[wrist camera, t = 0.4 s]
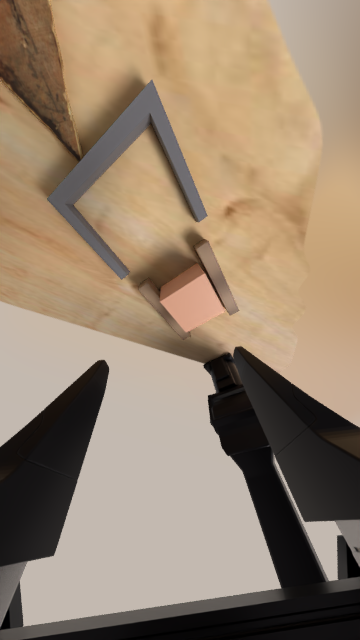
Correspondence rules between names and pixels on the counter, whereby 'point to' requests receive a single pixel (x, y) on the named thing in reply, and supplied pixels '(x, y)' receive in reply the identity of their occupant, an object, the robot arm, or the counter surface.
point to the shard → (36, 66)
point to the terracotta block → (191, 298)
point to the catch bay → (106, 153)
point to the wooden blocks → (215, 276)
